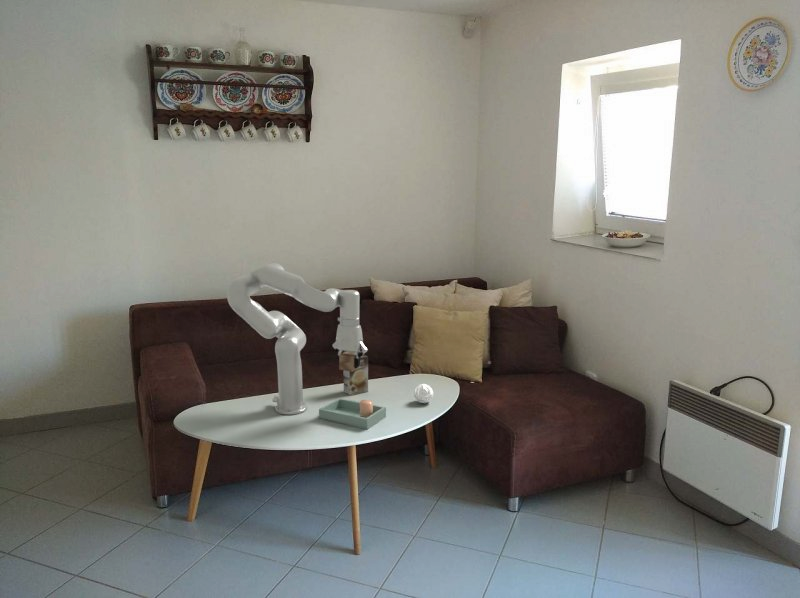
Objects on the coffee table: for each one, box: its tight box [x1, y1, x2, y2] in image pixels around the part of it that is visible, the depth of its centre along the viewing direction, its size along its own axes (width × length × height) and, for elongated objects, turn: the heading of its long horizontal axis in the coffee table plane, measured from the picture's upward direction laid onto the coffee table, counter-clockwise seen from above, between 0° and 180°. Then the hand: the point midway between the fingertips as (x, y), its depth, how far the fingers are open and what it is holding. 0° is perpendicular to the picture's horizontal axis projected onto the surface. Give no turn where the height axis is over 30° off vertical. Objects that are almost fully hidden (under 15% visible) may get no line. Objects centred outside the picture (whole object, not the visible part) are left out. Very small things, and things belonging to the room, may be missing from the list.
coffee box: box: [343, 354, 369, 396], centre depth 273 cm, size 9×6×16 cm
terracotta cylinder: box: [359, 399, 374, 418], centre depth 241 cm, size 5×5×7 cm
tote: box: [318, 397, 387, 431], centre depth 245 cm, size 22×14×4 cm, turn 62°
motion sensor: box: [413, 383, 434, 404], centre depth 261 cm, size 8×8×8 cm
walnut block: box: [338, 351, 360, 372], centre depth 248 cm, size 6×6×6 cm
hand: (349, 365), depth 248 cm, fingers closed on walnut block, 6 cm apart
